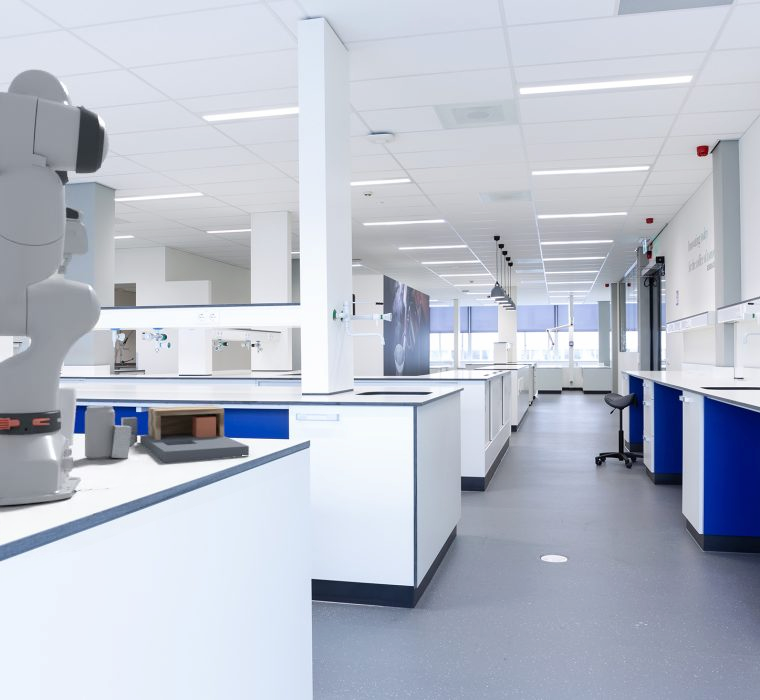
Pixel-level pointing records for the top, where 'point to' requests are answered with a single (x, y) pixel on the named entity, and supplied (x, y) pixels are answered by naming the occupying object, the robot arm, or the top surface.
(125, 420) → the mallet
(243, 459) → the top surface
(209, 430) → the cube
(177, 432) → the cubby
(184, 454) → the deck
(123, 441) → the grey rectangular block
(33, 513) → the top surface
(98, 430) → the beverage can
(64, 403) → the drinking glass
